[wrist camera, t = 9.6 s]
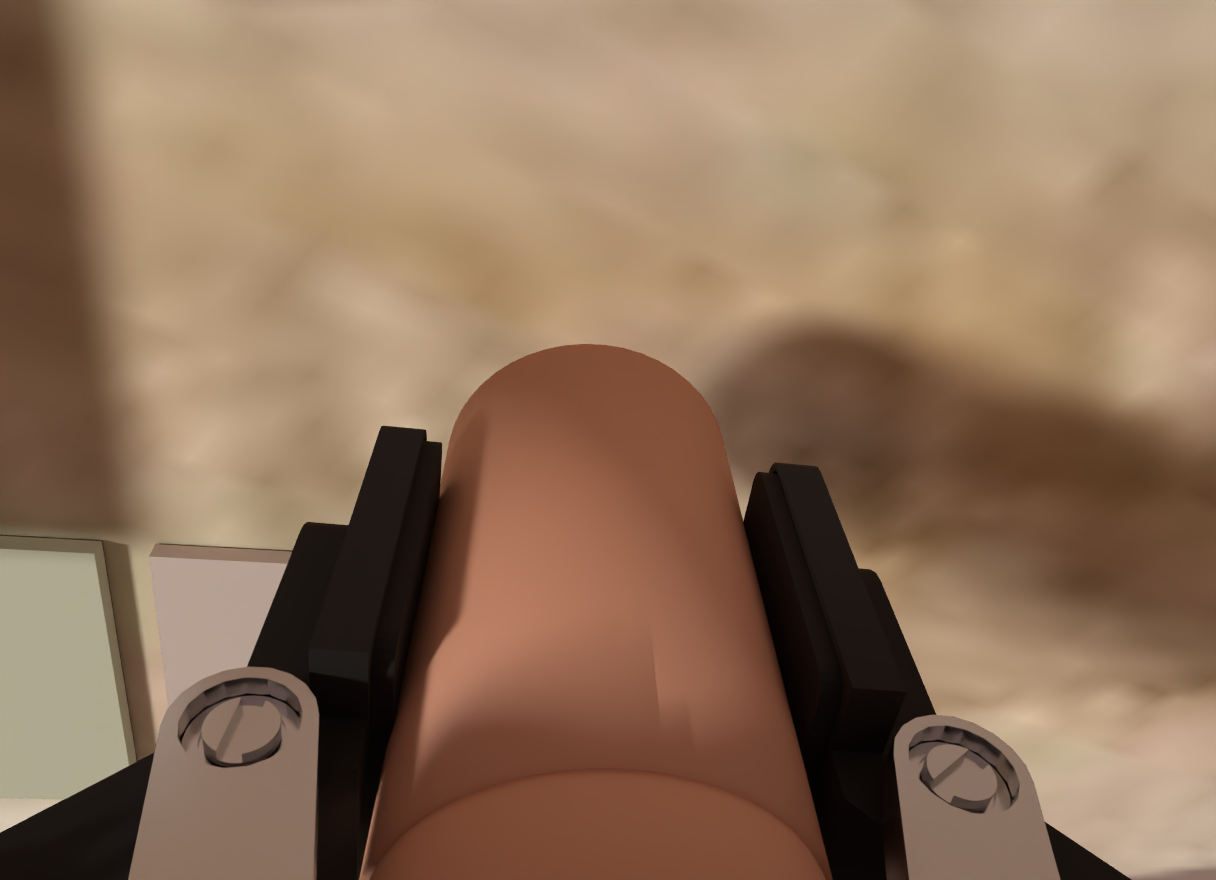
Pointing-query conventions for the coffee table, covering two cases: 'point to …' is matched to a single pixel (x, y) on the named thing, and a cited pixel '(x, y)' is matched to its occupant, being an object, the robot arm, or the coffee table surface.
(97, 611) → the tile strip
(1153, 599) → the coffee table surface
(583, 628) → the brown rounded cylinder piece
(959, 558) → the coffee table surface
